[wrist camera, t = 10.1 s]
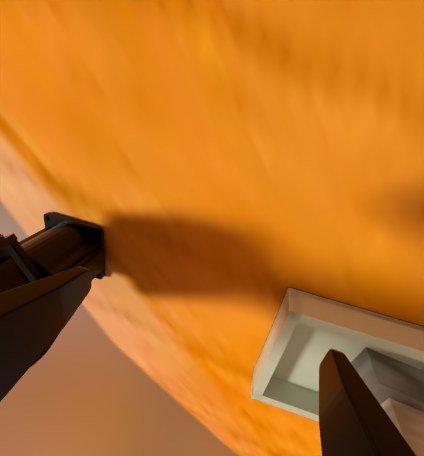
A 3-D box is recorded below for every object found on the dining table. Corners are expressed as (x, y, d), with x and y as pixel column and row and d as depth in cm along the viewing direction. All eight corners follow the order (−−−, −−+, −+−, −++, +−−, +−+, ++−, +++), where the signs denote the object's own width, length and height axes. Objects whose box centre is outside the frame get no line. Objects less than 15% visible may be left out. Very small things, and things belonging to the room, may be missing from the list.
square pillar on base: (337, 376, 26) (379, 576, 15) (365, 347, 23) (441, 560, 12) (394, 400, 25) (481, 624, 14) (429, 373, 23) (565, 617, 12)
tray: (253, 371, 29) (250, 397, 27) (288, 287, 23) (289, 310, 21) (397, 420, 27) (409, 454, 25) (478, 342, 21) (506, 376, 19)
